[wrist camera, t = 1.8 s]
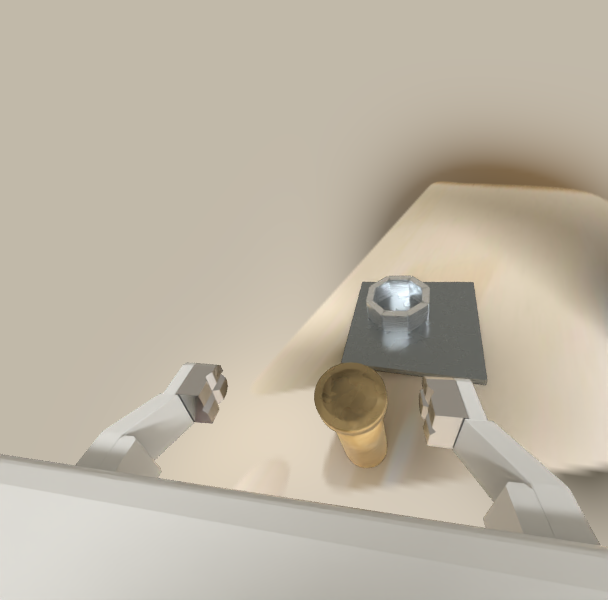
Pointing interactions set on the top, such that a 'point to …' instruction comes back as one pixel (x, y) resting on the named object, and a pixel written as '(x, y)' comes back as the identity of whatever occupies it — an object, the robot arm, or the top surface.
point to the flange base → (417, 329)
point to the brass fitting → (354, 411)
